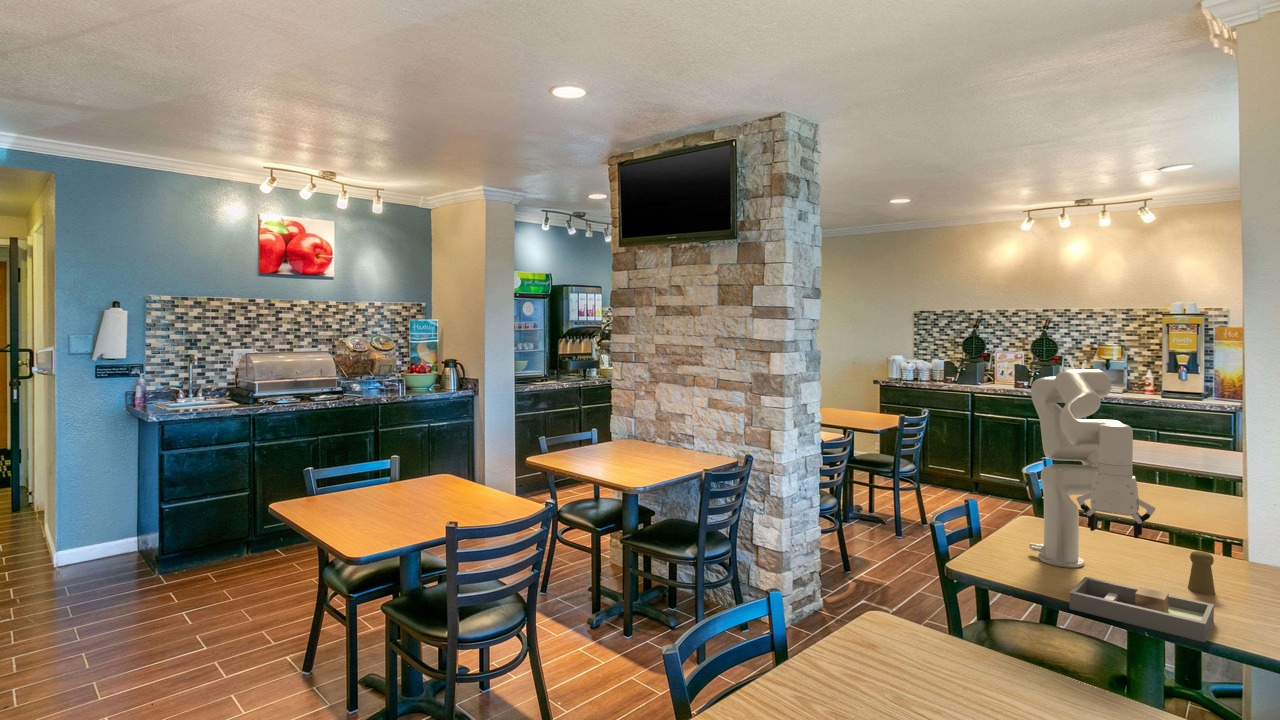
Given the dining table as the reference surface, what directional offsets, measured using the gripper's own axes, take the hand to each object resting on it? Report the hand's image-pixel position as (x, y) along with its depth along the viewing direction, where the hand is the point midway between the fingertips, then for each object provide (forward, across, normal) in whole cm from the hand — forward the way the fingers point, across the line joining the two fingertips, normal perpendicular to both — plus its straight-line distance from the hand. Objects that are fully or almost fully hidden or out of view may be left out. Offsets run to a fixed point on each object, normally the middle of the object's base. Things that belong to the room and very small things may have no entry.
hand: (1114, 533), depth 178 cm
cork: (+21, +15, +32) cm, 41 cm away
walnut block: (+18, +8, 0) cm, 20 cm away
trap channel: (+20, +6, 0) cm, 21 cm away
